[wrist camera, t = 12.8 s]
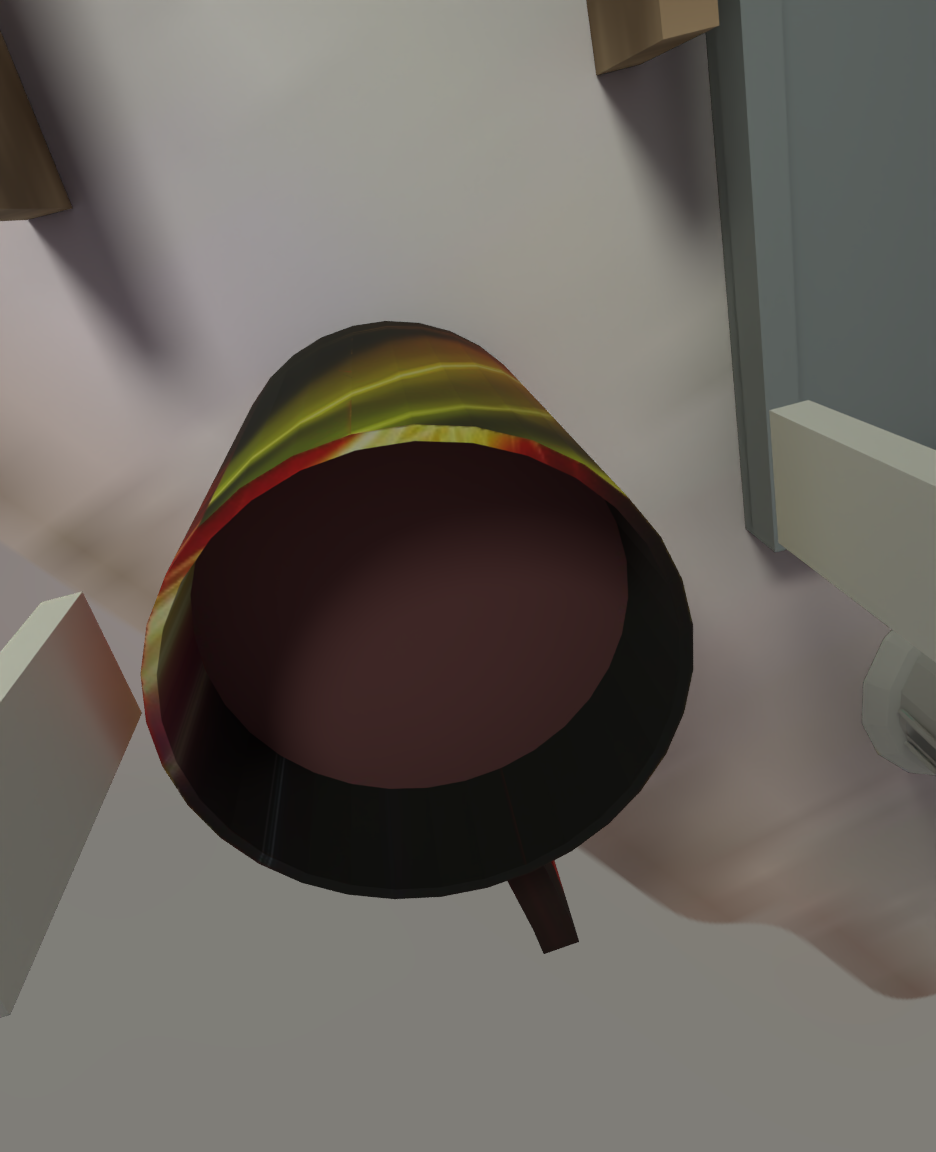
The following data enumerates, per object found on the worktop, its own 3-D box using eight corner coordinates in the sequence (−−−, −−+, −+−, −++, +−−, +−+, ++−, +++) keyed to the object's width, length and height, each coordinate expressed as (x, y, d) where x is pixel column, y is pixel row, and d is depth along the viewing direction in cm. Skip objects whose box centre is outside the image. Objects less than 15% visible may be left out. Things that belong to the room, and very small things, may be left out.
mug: (495, 732, 29) (577, 1040, 19) (169, 498, 24) (21, 735, 13) (691, 546, 27) (914, 772, 16) (380, 245, 22) (404, 283, 11)
